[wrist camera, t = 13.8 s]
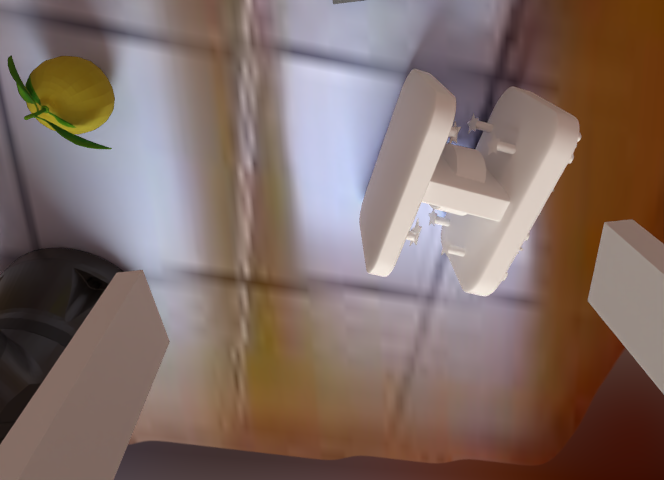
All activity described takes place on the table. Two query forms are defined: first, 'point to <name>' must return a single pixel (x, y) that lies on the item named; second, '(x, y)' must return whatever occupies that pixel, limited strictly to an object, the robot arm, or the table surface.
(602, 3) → the table surface
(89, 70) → the lemon
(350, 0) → the mat
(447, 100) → the cable organizer
